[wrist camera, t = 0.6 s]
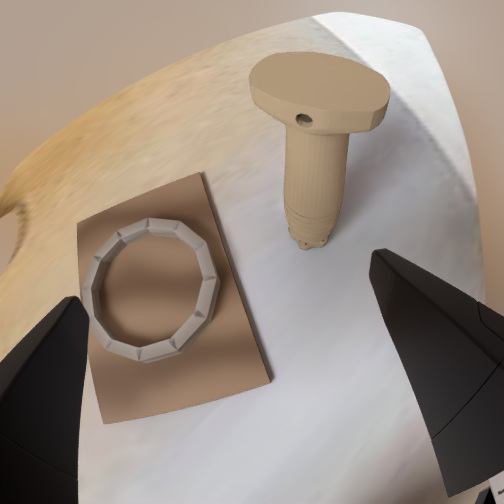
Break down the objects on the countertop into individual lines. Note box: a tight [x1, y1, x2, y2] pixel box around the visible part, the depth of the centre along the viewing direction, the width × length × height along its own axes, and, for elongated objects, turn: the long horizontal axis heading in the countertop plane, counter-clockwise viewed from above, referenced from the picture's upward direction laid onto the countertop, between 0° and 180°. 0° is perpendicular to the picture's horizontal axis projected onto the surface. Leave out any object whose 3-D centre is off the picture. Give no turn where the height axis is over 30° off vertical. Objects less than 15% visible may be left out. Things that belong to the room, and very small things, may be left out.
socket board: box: [77, 172, 271, 424], centre depth 24 cm, size 20×14×2 cm
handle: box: [249, 52, 390, 250], centre depth 19 cm, size 5×6×15 cm
